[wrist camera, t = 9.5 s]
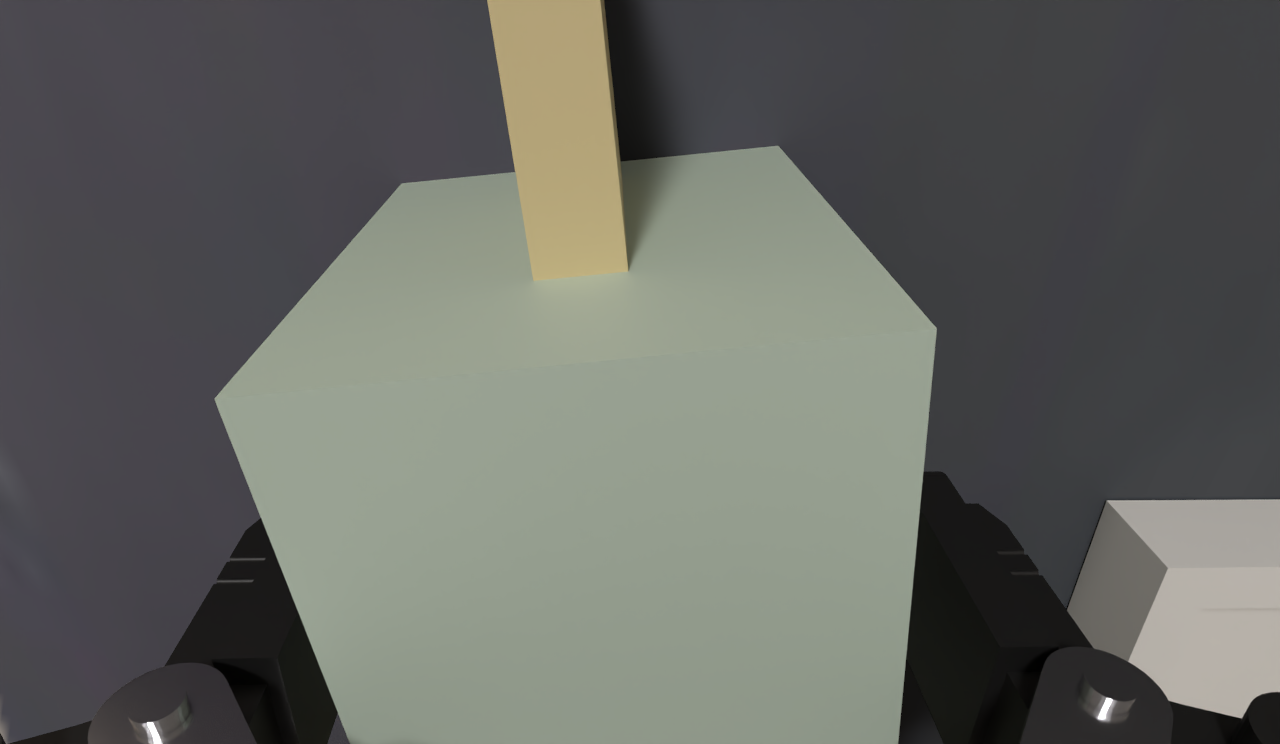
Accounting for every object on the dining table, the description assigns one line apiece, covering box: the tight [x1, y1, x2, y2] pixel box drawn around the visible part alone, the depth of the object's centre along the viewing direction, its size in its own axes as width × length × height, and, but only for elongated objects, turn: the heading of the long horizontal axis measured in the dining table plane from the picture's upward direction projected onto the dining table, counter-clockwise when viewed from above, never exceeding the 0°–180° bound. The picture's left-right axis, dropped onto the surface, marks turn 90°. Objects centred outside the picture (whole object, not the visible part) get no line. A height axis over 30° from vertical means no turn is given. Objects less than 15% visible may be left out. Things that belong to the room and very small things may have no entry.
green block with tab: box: [214, 0, 937, 744], centre depth 11 cm, size 6×17×7 cm, turn 5°
